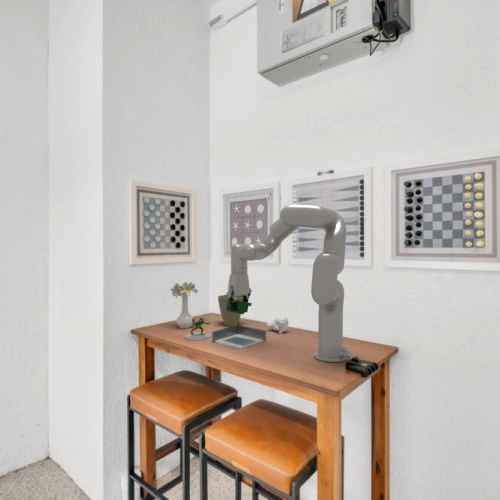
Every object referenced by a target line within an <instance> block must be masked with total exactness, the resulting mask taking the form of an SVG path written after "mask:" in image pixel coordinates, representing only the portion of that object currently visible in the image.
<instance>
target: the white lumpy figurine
mask: <svg viewBox="0 0 500 500" xmlns="http://www.w3.org/2000/svg"><path fill="white" fill-rule="evenodd" d="M289 324H290V322H289V319H288V317H287V316H285V315H278V316H276V317H275V318H274V319H273V320H271V321H268V322H267V323H266V328H267V329H268V331H272V330H274V329H275V331H278V334H282V333H284V332H286V331H287V329H288V327H289Z"/></svg>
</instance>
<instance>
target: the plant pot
mask: <svg viewBox="0 0 500 500" xmlns="http://www.w3.org/2000/svg"><path fill="white" fill-rule="evenodd" d="M233 299H234V297H233ZM242 299H243V297H242V296H237V298H236V300H237V301H242ZM217 300H218V306H219V311H220V315H221V318H222V320H223V324H224V325H225V326H227V327H231V326H235V325H239V321H240V319H241V315H242V314H238V313H234V312H229V311H227V310H226V307H227V301H228V297H227V296H226V294H222V295H218V296H217Z"/></svg>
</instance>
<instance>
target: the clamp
mask: <svg viewBox="0 0 500 500" xmlns="http://www.w3.org/2000/svg"><path fill="white" fill-rule="evenodd" d="M235 302H236V311H231V310H230V301H229V299H228V301H227V307H226V310H227V311H229V312H234V313H238V314H241V315H244V314H245V313H248V310H249V307H252V303H251V302H249V301H248V302H243V301H237V300H236V301H235Z"/></svg>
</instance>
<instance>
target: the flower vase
mask: <svg viewBox="0 0 500 500" xmlns="http://www.w3.org/2000/svg"><path fill="white" fill-rule="evenodd" d="M179 284H180V283H178V282H176V283H174V285H173V286H172V287H170V291H171V292H172V293H171V295H172V297H175V299H176V298H178V296H179V297H181V303H182V304H181V312H180V314H179V316H178V317H177V318H176V321H175V322H176V324H177V326H179V328H180V329H189V328H192V326H193V325H192V323H193V322H192V319H194V318H193V316H192V315H191V314H190V311H189V303H188V301H189V296H190V294H191V292H193V293H195V294H196V295H198V292H199V291H198V290H197V289H196V288H195V287H196V284H195V283H193V282H192V281H191V282H189V283H188V282H187V281H185V282H184V283H181V285H179Z"/></svg>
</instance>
